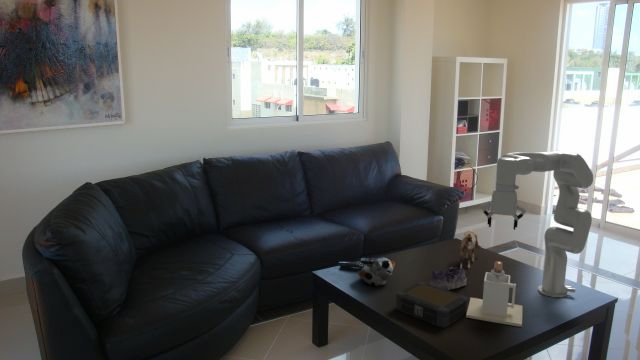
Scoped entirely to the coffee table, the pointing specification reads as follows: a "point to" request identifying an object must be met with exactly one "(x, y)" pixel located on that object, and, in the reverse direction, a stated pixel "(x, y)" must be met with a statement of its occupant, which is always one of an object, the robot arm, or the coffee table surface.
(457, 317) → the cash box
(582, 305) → the coffee table surface
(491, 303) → the square white mug
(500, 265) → the plunger
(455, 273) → the geode
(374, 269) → the lucky cat figurine
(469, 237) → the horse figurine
